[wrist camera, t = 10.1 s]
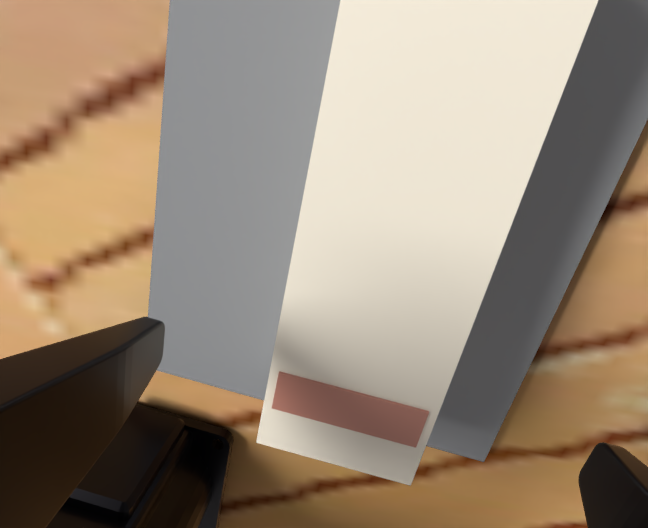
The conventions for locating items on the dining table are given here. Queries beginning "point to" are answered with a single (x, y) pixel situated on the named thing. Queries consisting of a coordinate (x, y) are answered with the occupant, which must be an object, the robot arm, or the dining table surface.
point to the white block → (408, 215)
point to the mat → (289, 183)
